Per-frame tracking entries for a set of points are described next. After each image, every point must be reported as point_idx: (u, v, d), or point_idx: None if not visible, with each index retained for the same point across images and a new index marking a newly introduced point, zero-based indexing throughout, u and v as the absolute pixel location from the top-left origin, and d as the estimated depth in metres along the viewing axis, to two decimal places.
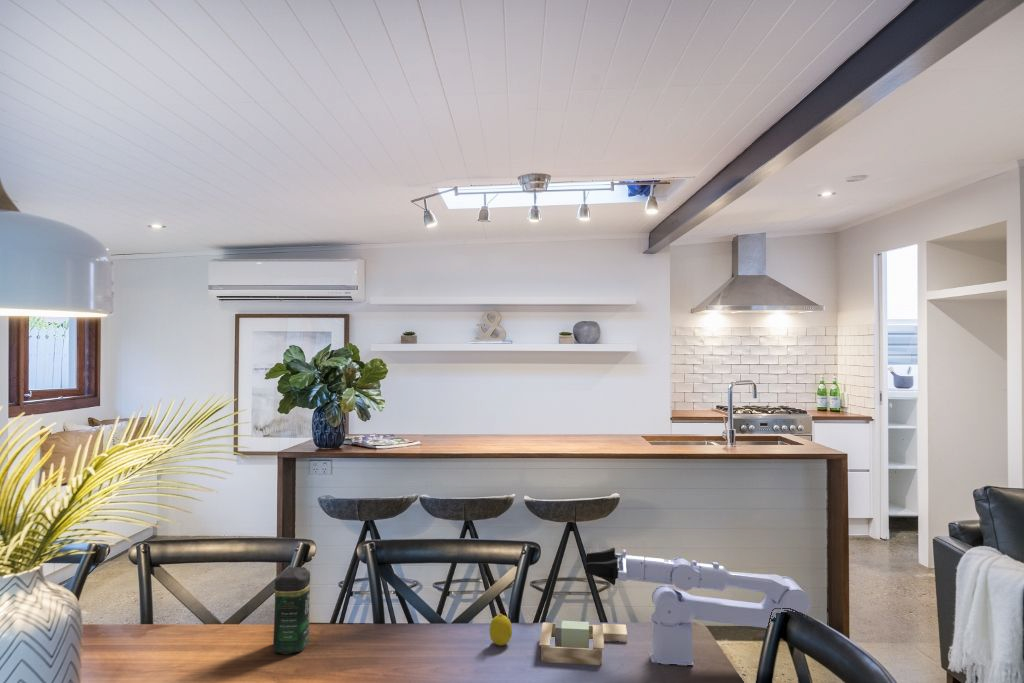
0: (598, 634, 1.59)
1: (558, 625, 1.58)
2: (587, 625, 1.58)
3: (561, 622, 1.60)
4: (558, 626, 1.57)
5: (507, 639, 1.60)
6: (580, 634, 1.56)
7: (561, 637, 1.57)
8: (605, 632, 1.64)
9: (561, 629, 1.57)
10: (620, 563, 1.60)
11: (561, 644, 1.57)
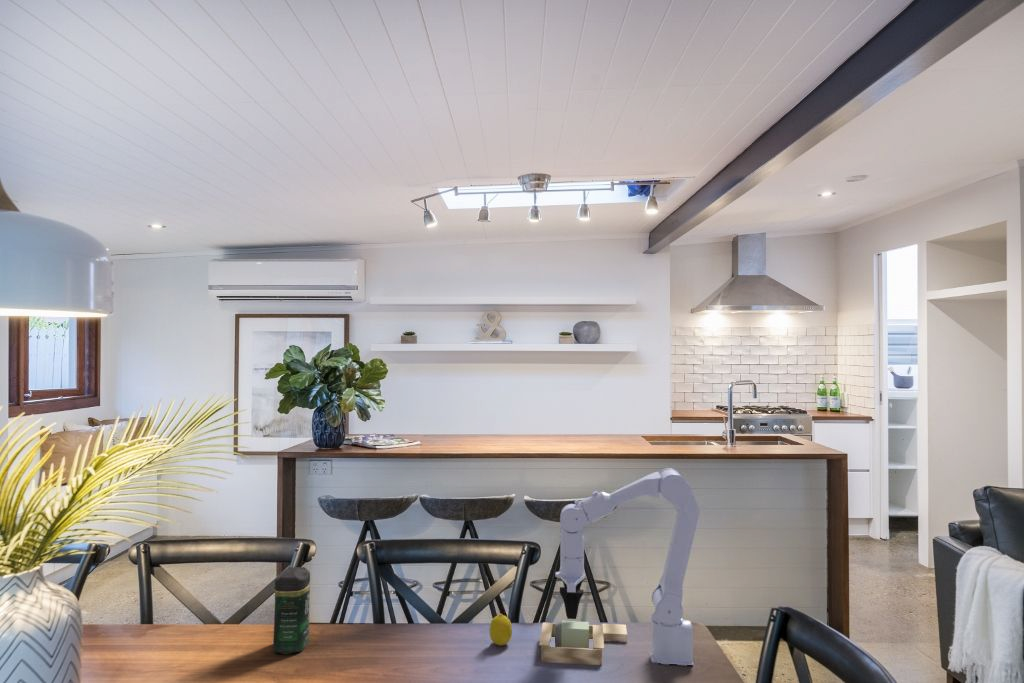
0: (598, 634, 1.59)
1: (558, 625, 1.58)
2: (587, 625, 1.58)
3: (561, 622, 1.60)
4: (558, 626, 1.57)
5: (507, 639, 1.60)
6: (580, 634, 1.56)
7: (561, 637, 1.57)
8: (605, 632, 1.64)
9: (561, 629, 1.57)
10: None
11: (561, 644, 1.57)
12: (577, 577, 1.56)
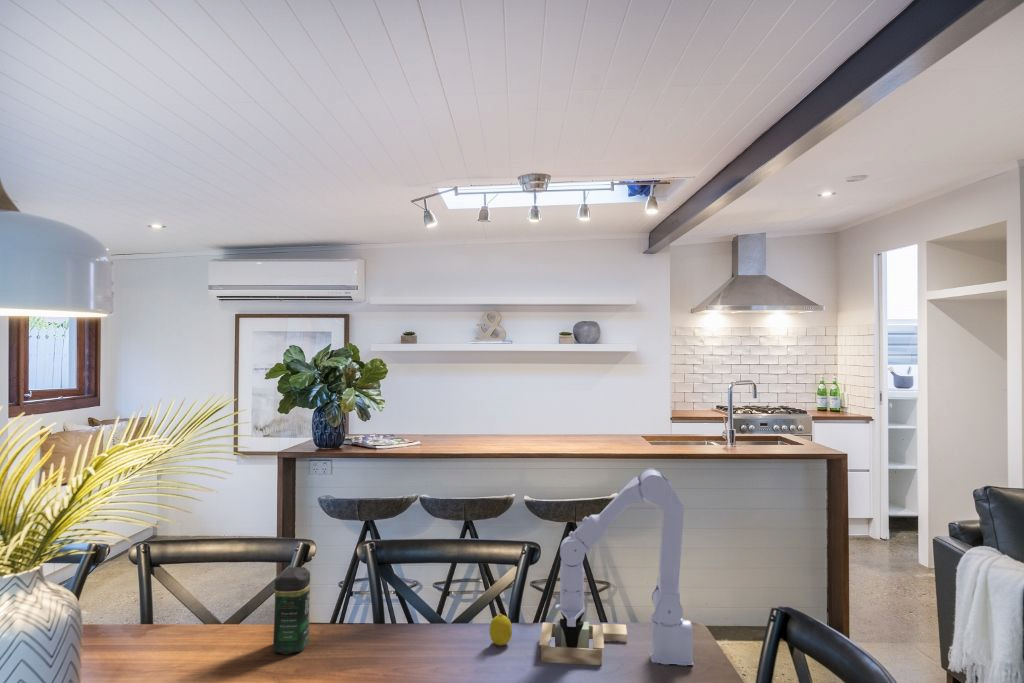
0: (598, 634, 1.59)
1: (558, 625, 1.58)
2: (587, 625, 1.58)
3: None
4: (558, 626, 1.57)
5: (507, 639, 1.60)
6: (580, 634, 1.56)
7: (561, 637, 1.57)
8: (605, 632, 1.64)
9: (561, 629, 1.57)
10: None
11: (561, 644, 1.57)
12: (577, 610, 1.56)
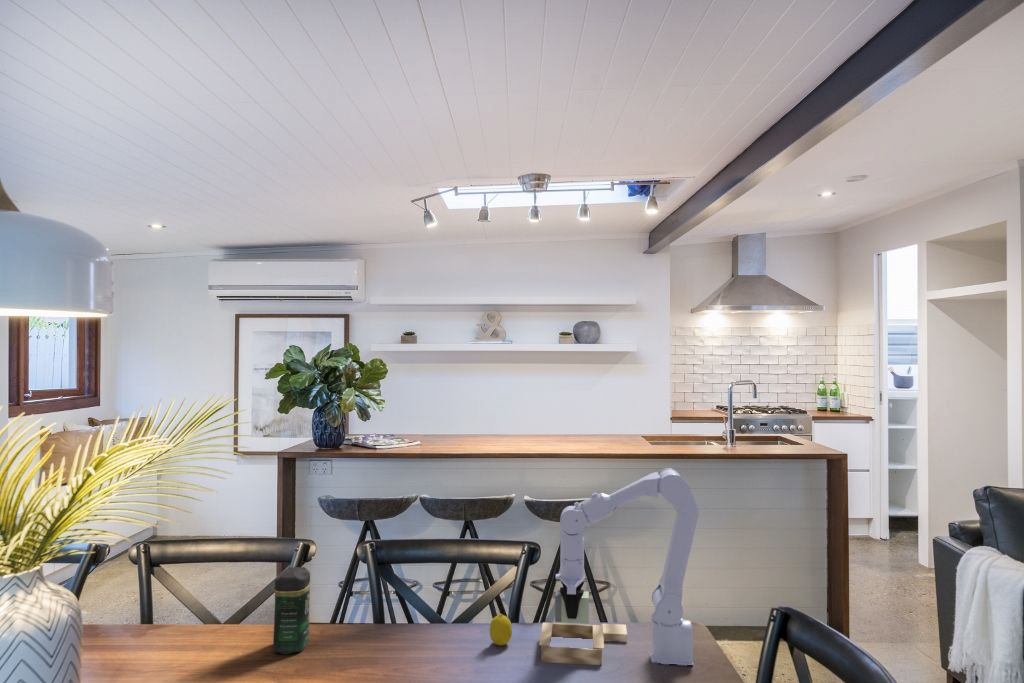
0: (598, 634, 1.59)
1: (558, 594, 1.58)
2: (587, 594, 1.58)
3: None
4: (558, 595, 1.58)
5: (507, 639, 1.60)
6: (580, 603, 1.56)
7: (561, 606, 1.57)
8: (605, 632, 1.64)
9: (561, 598, 1.57)
10: None
11: (561, 612, 1.57)
12: (577, 579, 1.56)
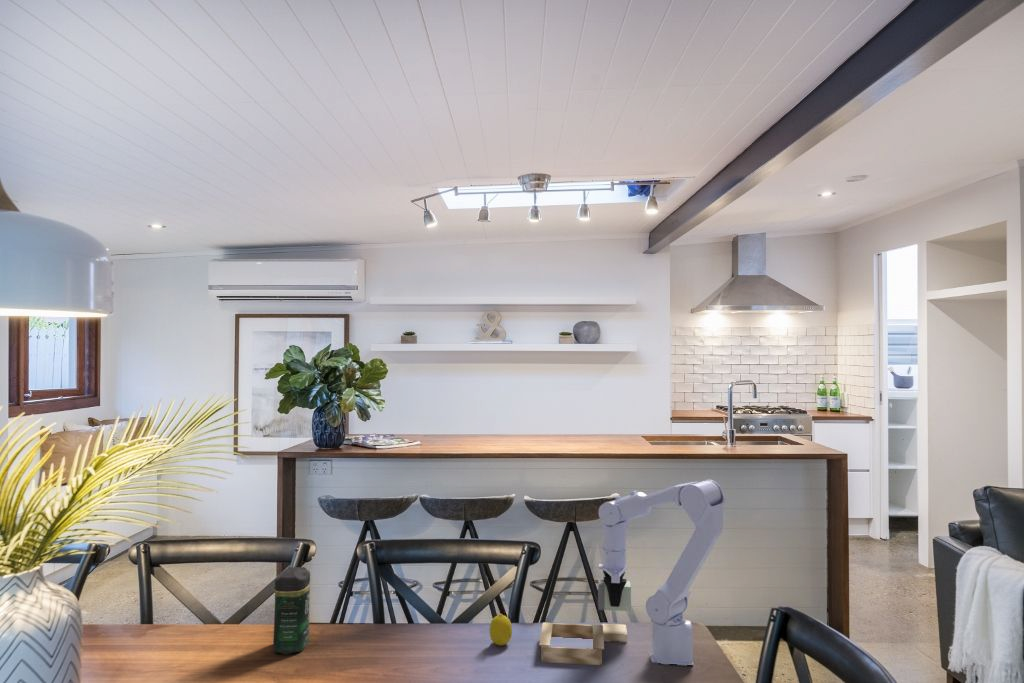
0: (598, 634, 1.59)
1: (601, 583, 1.66)
2: (629, 583, 1.66)
3: (603, 581, 1.68)
4: (601, 584, 1.65)
5: (507, 639, 1.60)
6: (623, 592, 1.64)
7: (604, 594, 1.65)
8: (605, 632, 1.64)
9: (604, 587, 1.65)
10: None
11: (604, 601, 1.64)
12: (620, 569, 1.64)
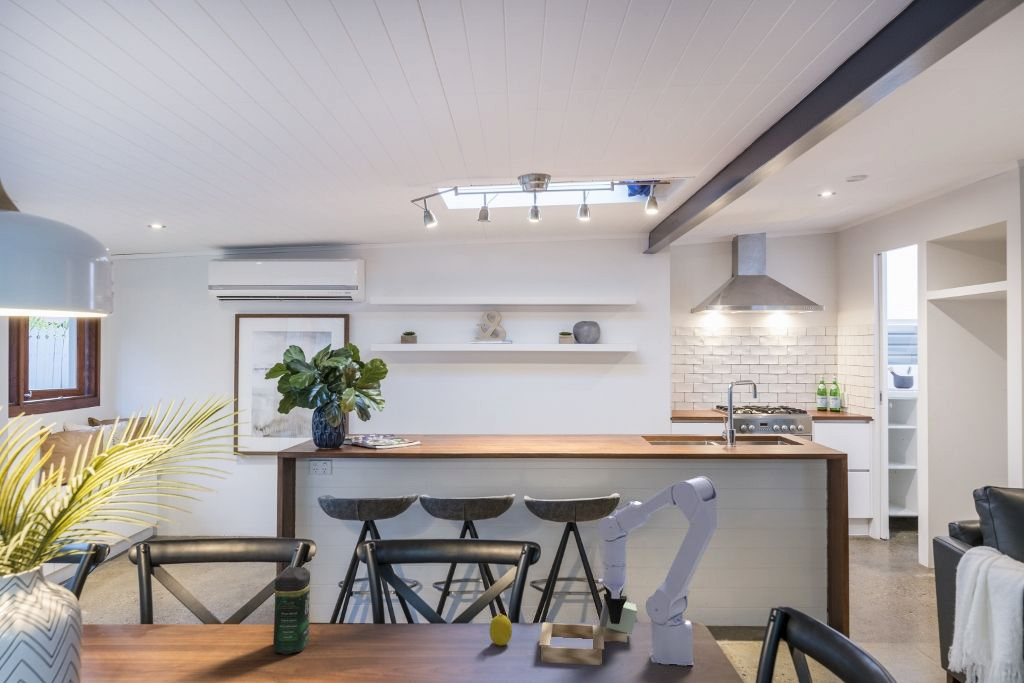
0: (598, 634, 1.59)
1: None
2: (635, 607, 1.66)
3: None
4: None
5: (507, 639, 1.60)
6: (628, 614, 1.64)
7: None
8: (605, 632, 1.64)
9: None
10: None
11: (607, 618, 1.64)
12: (620, 584, 1.64)
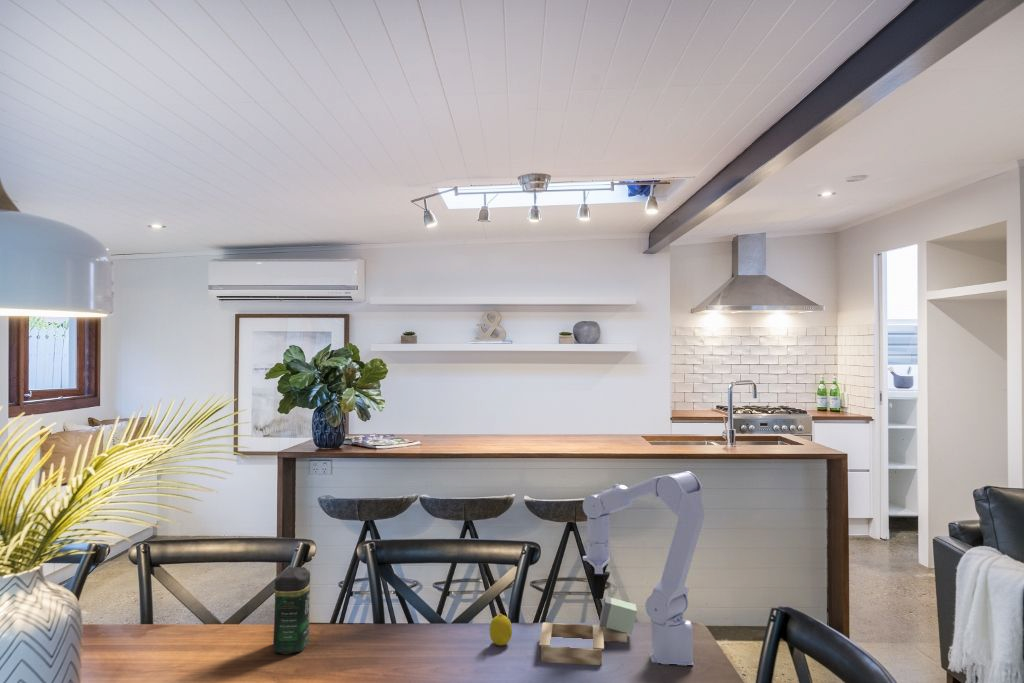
0: (598, 634, 1.59)
1: (607, 601, 1.66)
2: (635, 607, 1.66)
3: (610, 598, 1.68)
4: (608, 602, 1.65)
5: (507, 639, 1.60)
6: (628, 614, 1.64)
7: (609, 612, 1.64)
8: (605, 632, 1.64)
9: (611, 605, 1.64)
10: None
11: (607, 618, 1.64)
12: (603, 560, 1.68)
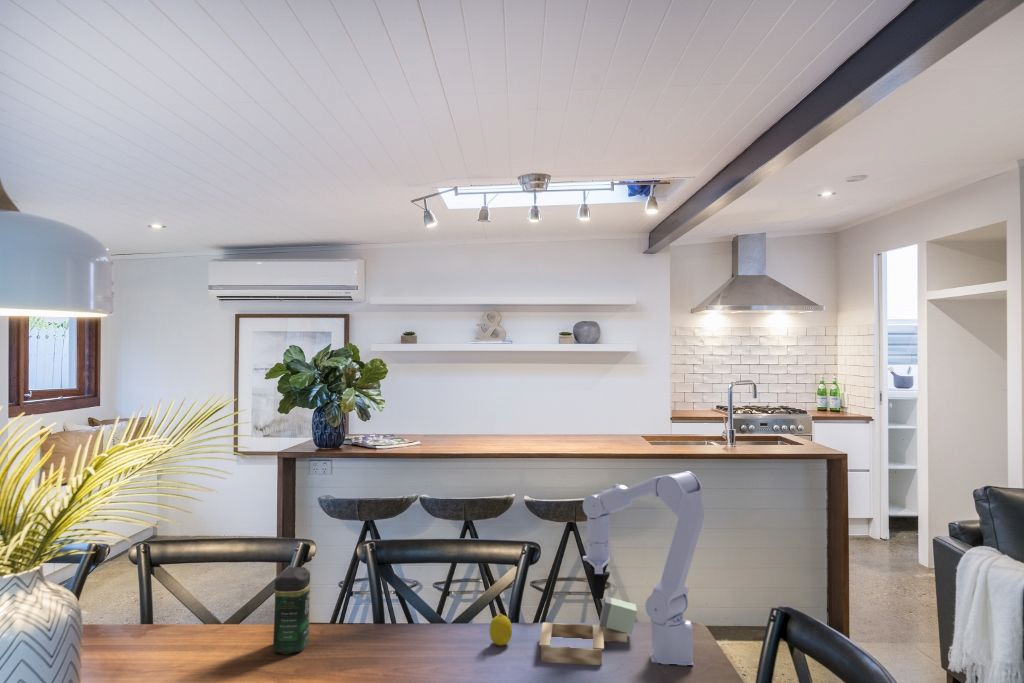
0: (598, 634, 1.59)
1: (607, 601, 1.66)
2: (635, 607, 1.66)
3: (610, 598, 1.68)
4: (608, 602, 1.65)
5: (507, 639, 1.60)
6: (628, 614, 1.64)
7: (609, 612, 1.64)
8: (605, 632, 1.64)
9: (611, 605, 1.64)
10: None
11: (607, 618, 1.64)
12: (603, 560, 1.68)
